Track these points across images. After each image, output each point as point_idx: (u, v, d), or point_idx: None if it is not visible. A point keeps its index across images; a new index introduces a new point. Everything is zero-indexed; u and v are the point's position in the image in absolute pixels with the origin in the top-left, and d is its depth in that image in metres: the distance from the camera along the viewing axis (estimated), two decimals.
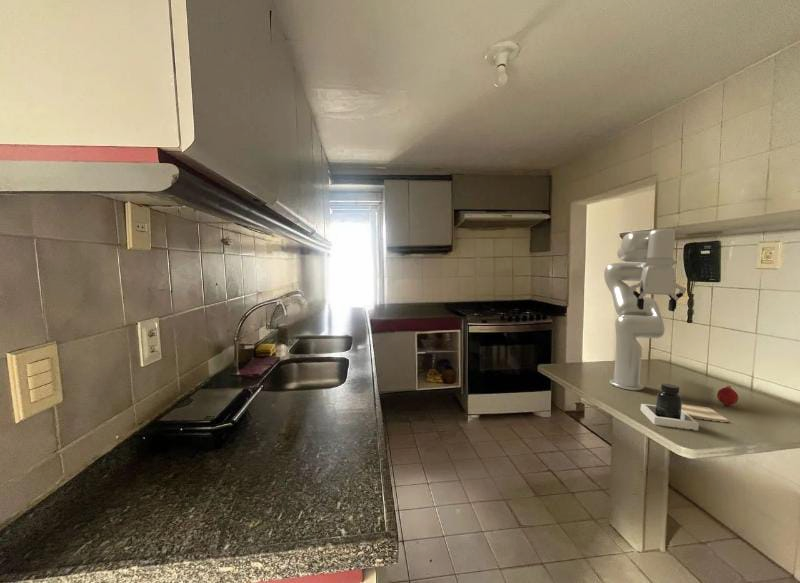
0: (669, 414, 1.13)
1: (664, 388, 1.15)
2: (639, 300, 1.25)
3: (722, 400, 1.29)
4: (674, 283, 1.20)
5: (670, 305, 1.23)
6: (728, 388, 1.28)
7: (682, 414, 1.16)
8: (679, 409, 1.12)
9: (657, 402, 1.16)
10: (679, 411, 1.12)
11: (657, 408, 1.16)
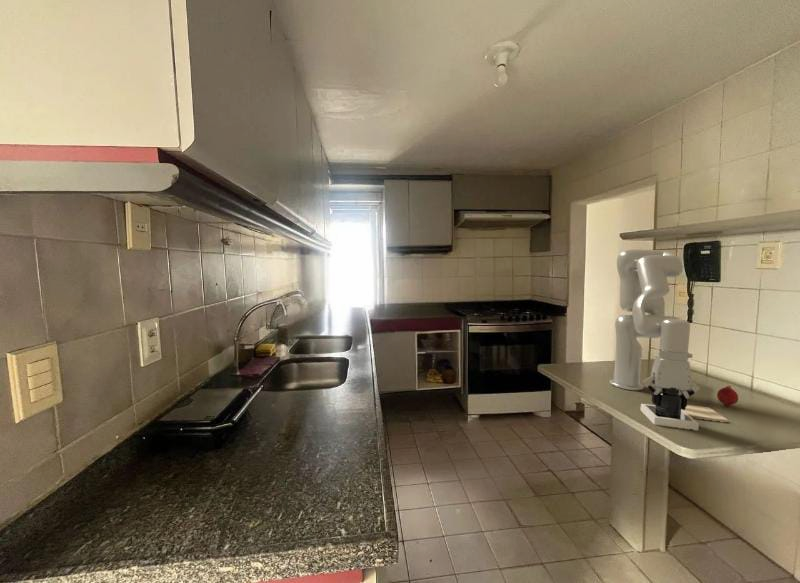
0: (669, 414, 1.13)
1: (664, 388, 1.15)
2: (654, 396, 1.16)
3: (722, 400, 1.29)
4: (689, 379, 1.11)
5: None
6: (728, 388, 1.28)
7: (682, 414, 1.16)
8: (679, 409, 1.12)
9: None
10: (679, 411, 1.12)
11: (657, 408, 1.16)
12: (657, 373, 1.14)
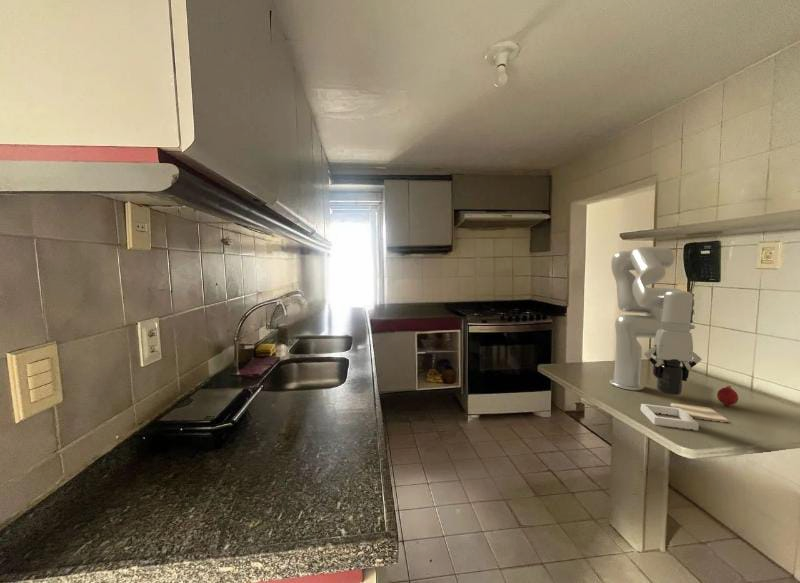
0: (670, 385, 1.13)
1: (666, 360, 1.14)
2: (656, 368, 1.16)
3: (722, 400, 1.29)
4: (691, 350, 1.11)
5: None
6: (728, 388, 1.28)
7: (682, 414, 1.16)
8: (680, 380, 1.12)
9: None
10: (680, 382, 1.12)
11: (658, 380, 1.16)
12: (659, 345, 1.14)
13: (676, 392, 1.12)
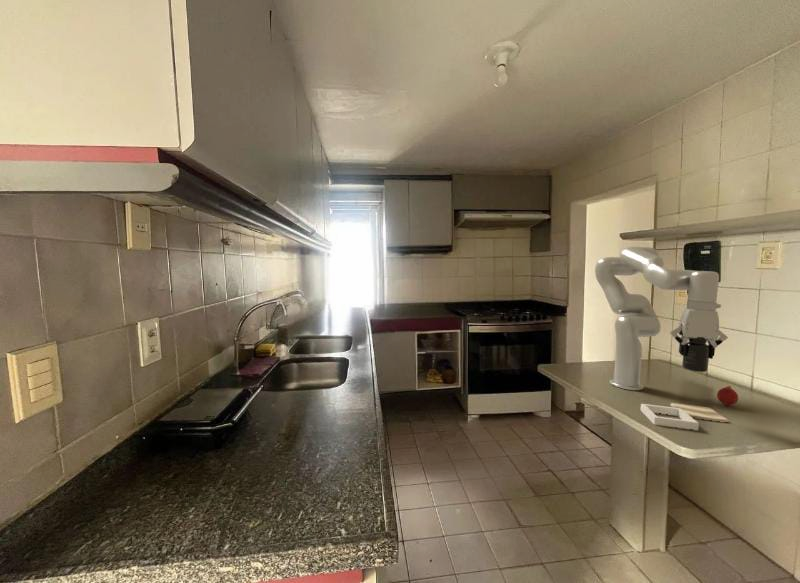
0: (696, 362, 1.16)
1: (692, 338, 1.18)
2: (682, 346, 1.20)
3: (722, 400, 1.29)
4: (717, 328, 1.15)
5: None
6: (728, 388, 1.28)
7: (682, 414, 1.16)
8: (706, 358, 1.16)
9: None
10: (706, 359, 1.16)
11: (684, 358, 1.20)
12: (685, 323, 1.18)
13: (702, 369, 1.16)
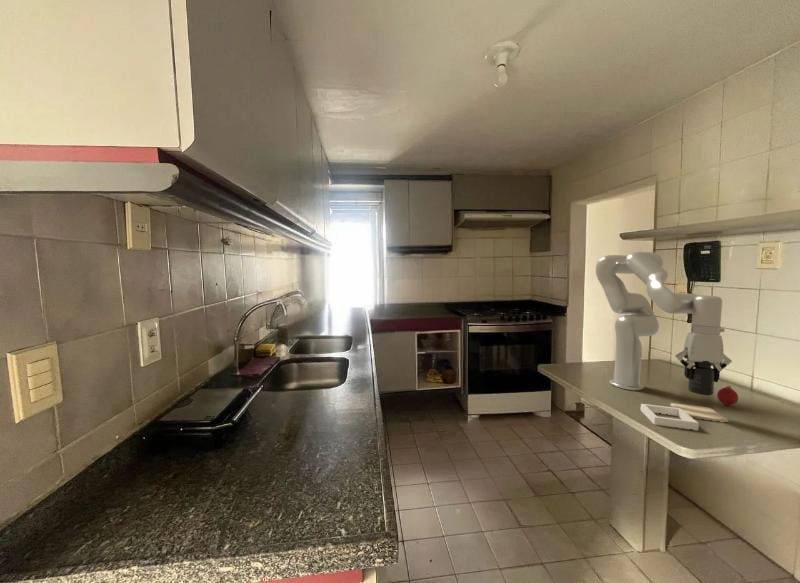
0: (702, 386, 1.18)
1: (697, 362, 1.20)
2: (687, 369, 1.21)
3: (722, 400, 1.29)
4: (722, 352, 1.17)
5: None
6: (728, 388, 1.28)
7: (682, 414, 1.16)
8: (712, 381, 1.17)
9: None
10: (712, 383, 1.17)
11: (690, 381, 1.21)
12: (690, 347, 1.19)
13: (708, 393, 1.17)
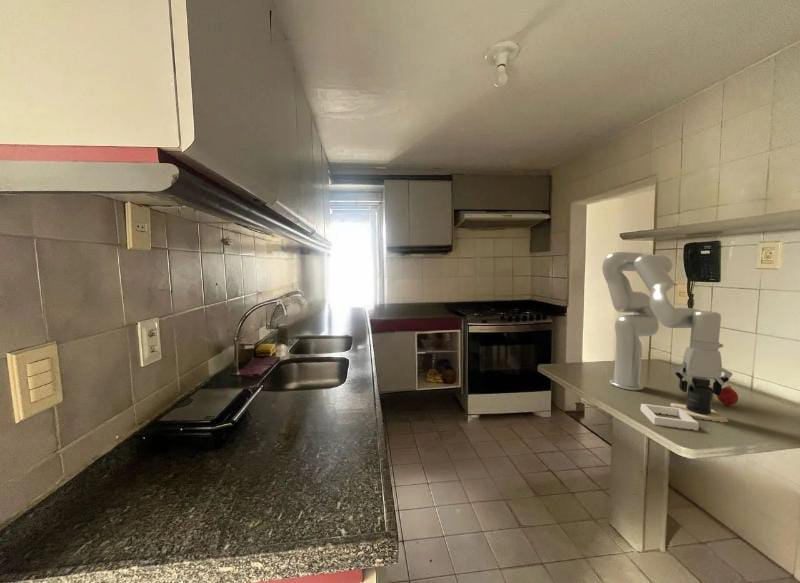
0: (700, 405, 1.18)
1: (695, 380, 1.20)
2: (682, 382, 1.22)
3: (722, 400, 1.29)
4: (720, 368, 1.17)
5: (715, 388, 1.20)
6: (728, 388, 1.28)
7: (682, 414, 1.16)
8: (710, 400, 1.18)
9: (688, 394, 1.22)
10: (710, 402, 1.18)
11: (688, 400, 1.22)
12: (689, 362, 1.20)
13: (706, 412, 1.18)
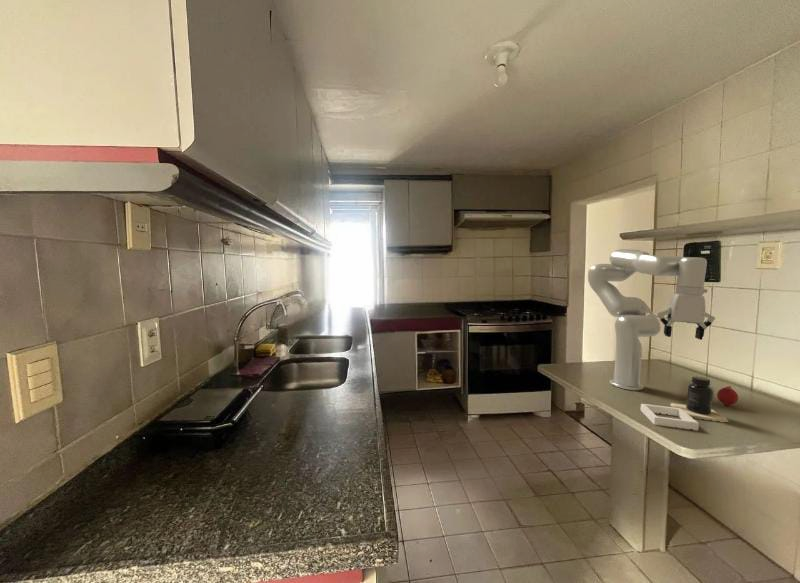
0: (700, 405, 1.18)
1: (695, 380, 1.20)
2: (667, 327, 1.25)
3: (722, 400, 1.29)
4: (703, 312, 1.20)
5: (697, 333, 1.23)
6: (728, 388, 1.28)
7: (682, 414, 1.16)
8: (710, 400, 1.18)
9: (688, 394, 1.22)
10: (710, 402, 1.18)
11: (688, 400, 1.22)
12: (674, 308, 1.22)
13: (706, 412, 1.18)
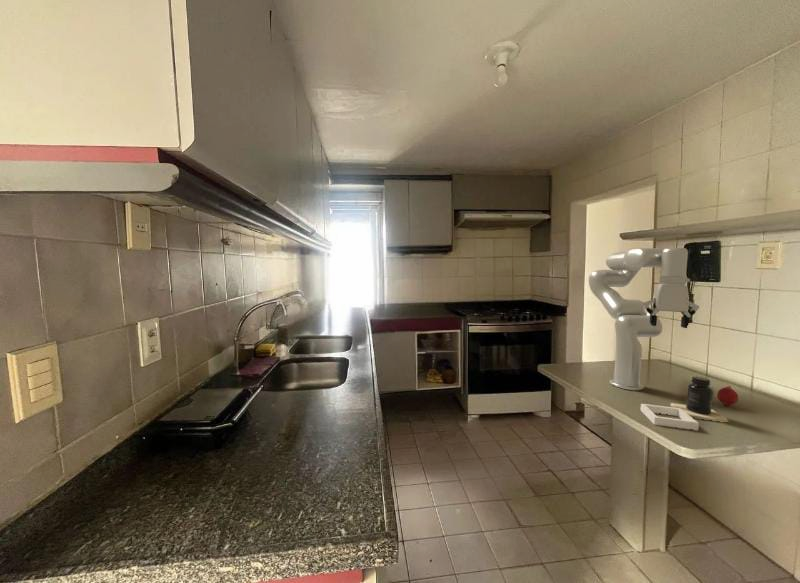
0: (700, 405, 1.18)
1: (695, 380, 1.20)
2: (652, 317, 1.28)
3: (722, 400, 1.29)
4: (687, 301, 1.23)
5: (683, 322, 1.25)
6: (728, 388, 1.28)
7: (682, 414, 1.16)
8: (710, 400, 1.18)
9: (688, 394, 1.22)
10: (710, 402, 1.18)
11: (688, 400, 1.22)
12: (658, 297, 1.26)
13: (706, 412, 1.18)
